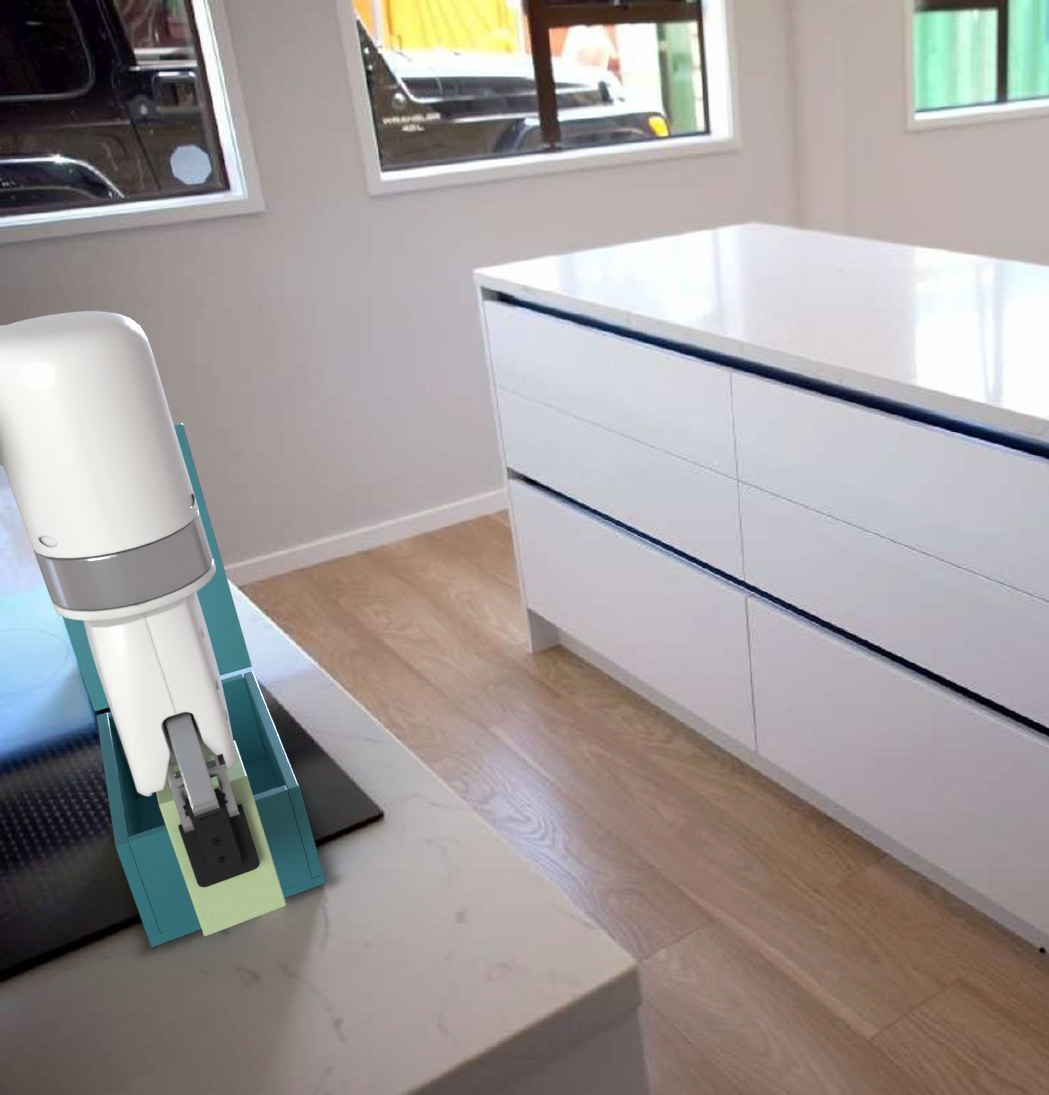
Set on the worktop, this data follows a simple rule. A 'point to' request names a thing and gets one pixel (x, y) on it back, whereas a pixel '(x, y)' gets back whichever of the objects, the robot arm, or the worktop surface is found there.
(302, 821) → the box
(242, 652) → the lunchbox lid
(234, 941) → the worktop surface
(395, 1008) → the worktop surface
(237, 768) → the carton
